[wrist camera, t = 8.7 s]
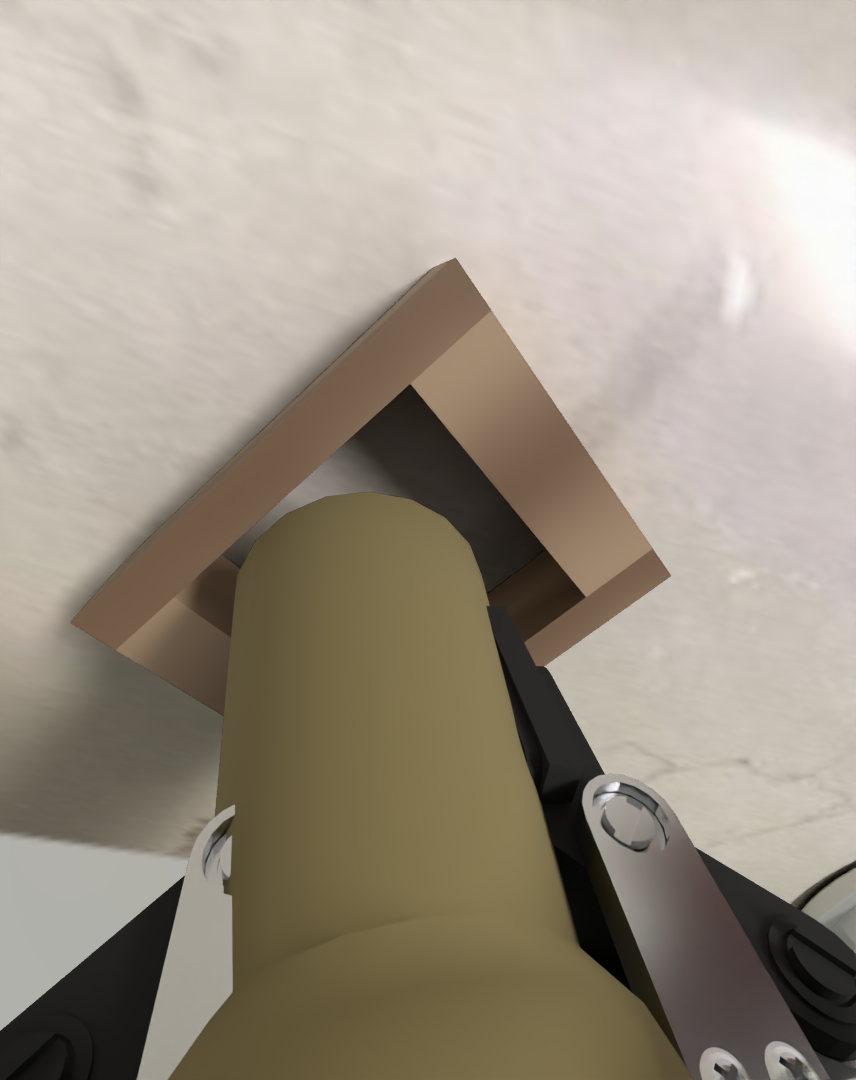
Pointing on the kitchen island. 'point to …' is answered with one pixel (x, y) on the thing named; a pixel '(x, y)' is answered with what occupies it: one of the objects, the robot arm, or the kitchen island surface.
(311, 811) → the tan rounded tapered piece
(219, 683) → the walnut holder
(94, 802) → the kitchen island surface
